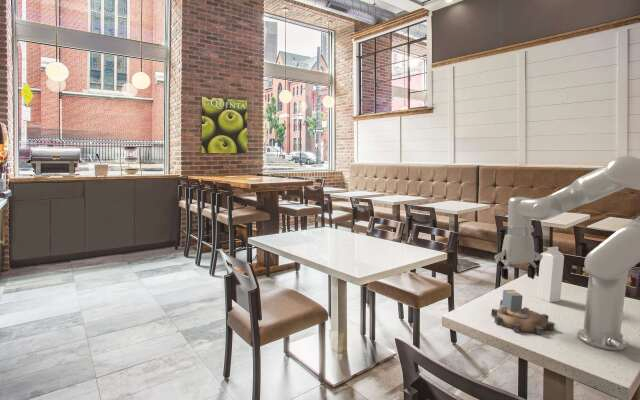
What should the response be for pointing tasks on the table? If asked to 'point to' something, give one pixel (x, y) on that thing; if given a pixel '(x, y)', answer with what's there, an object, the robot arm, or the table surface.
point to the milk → (550, 275)
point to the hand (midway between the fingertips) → (517, 278)
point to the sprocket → (522, 320)
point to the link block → (512, 300)
